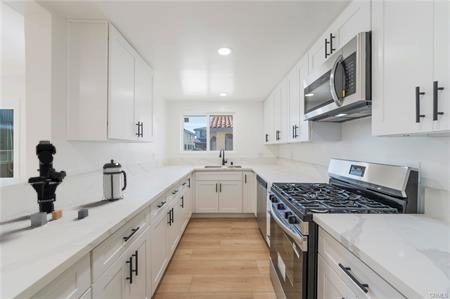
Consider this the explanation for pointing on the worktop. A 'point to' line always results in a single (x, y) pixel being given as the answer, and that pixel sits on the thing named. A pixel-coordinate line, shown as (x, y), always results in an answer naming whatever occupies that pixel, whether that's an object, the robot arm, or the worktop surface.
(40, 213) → the steel block
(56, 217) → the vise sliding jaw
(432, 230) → the worktop surface
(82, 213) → the block
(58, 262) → the worktop surface
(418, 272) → the worktop surface
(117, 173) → the coffee press
